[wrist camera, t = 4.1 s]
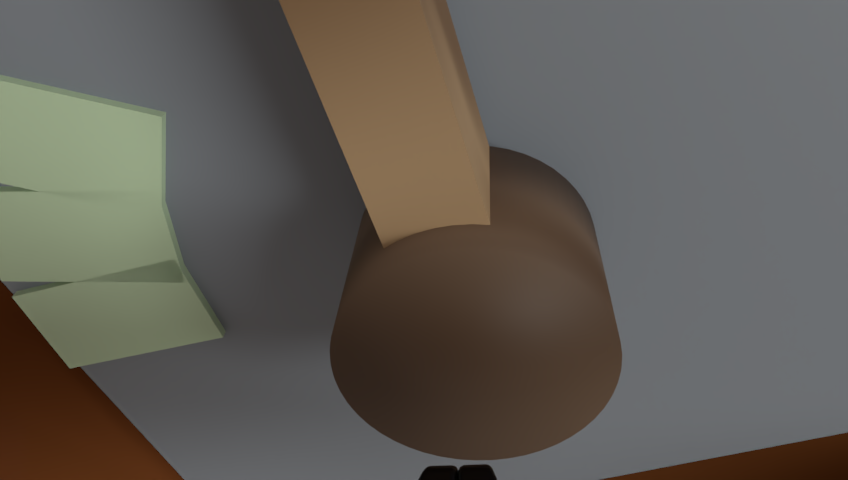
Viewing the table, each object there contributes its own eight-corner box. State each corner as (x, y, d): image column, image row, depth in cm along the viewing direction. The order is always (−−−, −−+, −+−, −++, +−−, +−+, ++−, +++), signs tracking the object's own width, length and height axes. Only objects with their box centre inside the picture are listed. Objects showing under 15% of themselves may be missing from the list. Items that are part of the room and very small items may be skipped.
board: (1016, 353, 16) (1057, 400, 15) (255, 510, 22) (242, 553, 20) (1085, -929, 7) (1205, -1062, 6) (-267, -90, 12) (-343, -73, 11)
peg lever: (613, 316, 14) (642, 438, 11) (402, 355, 15) (385, 476, 12) (358, -847, 6) (281, -1211, 4) (-33, -608, 7) (-290, -782, 5)
